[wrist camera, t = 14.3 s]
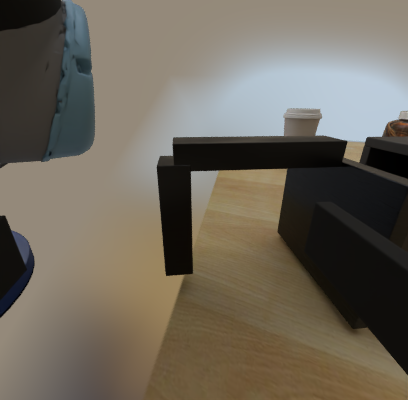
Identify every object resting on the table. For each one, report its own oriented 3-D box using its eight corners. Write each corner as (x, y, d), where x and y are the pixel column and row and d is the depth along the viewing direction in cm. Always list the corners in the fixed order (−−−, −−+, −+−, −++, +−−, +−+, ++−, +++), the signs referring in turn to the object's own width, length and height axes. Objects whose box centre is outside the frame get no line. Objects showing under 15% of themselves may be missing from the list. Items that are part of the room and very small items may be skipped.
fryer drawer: (164, 350, 16) (144, 164, 10) (169, 238, 28) (162, 129, 23) (528, 310, 19) (658, 152, 13) (385, 225, 31) (423, 127, 26)
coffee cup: (319, 168, 61) (332, 109, 55) (285, 170, 60) (295, 109, 54) (300, 160, 69) (310, 108, 63) (271, 161, 68) (278, 108, 62)
